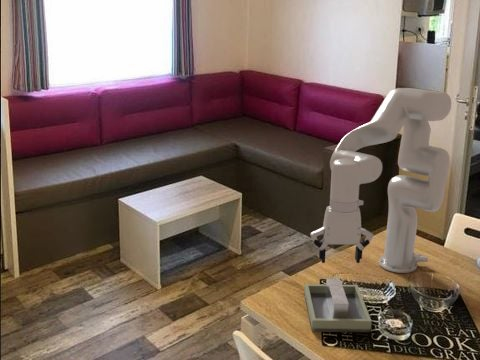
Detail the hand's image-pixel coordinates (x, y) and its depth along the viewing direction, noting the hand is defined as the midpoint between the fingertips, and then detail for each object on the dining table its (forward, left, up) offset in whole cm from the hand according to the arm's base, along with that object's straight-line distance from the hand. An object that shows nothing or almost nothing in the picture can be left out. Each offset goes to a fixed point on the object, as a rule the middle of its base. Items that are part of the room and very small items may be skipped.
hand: (340, 260), depth 160 cm
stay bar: (0, 0, -15) cm, 15 cm away
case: (0, 0, -16) cm, 16 cm away
